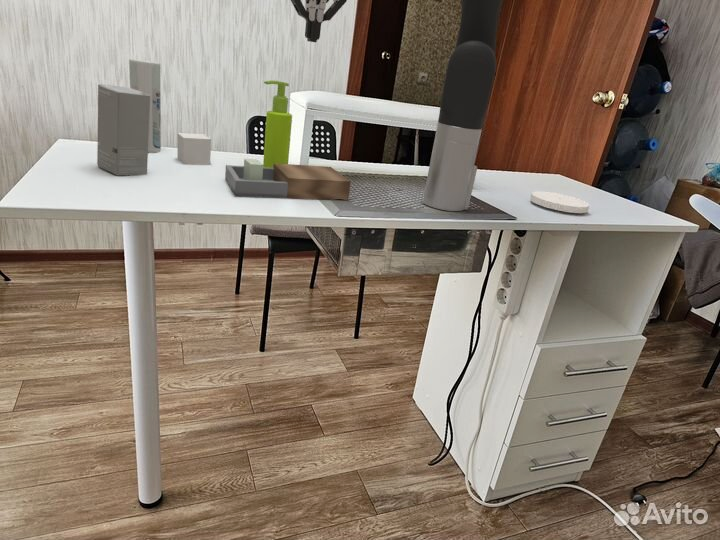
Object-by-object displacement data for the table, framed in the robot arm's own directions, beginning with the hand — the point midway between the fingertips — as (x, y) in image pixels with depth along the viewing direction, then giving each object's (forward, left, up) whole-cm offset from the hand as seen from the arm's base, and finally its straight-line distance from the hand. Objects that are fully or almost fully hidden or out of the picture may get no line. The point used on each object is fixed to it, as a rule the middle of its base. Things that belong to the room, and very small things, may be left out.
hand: (312, 41), depth 104 cm
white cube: (+22, -12, -29) cm, 39 cm away
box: (+12, +10, -29) cm, 33 cm away
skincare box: (+36, 0, -29) cm, 47 cm away
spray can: (+32, -22, -29) cm, 49 cm away
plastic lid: (-63, +16, -30) cm, 71 cm away
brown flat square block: (+1, +10, -29) cm, 31 cm away
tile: (+12, +11, -26) cm, 30 cm away
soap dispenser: (+4, -9, -29) cm, 31 cm away
